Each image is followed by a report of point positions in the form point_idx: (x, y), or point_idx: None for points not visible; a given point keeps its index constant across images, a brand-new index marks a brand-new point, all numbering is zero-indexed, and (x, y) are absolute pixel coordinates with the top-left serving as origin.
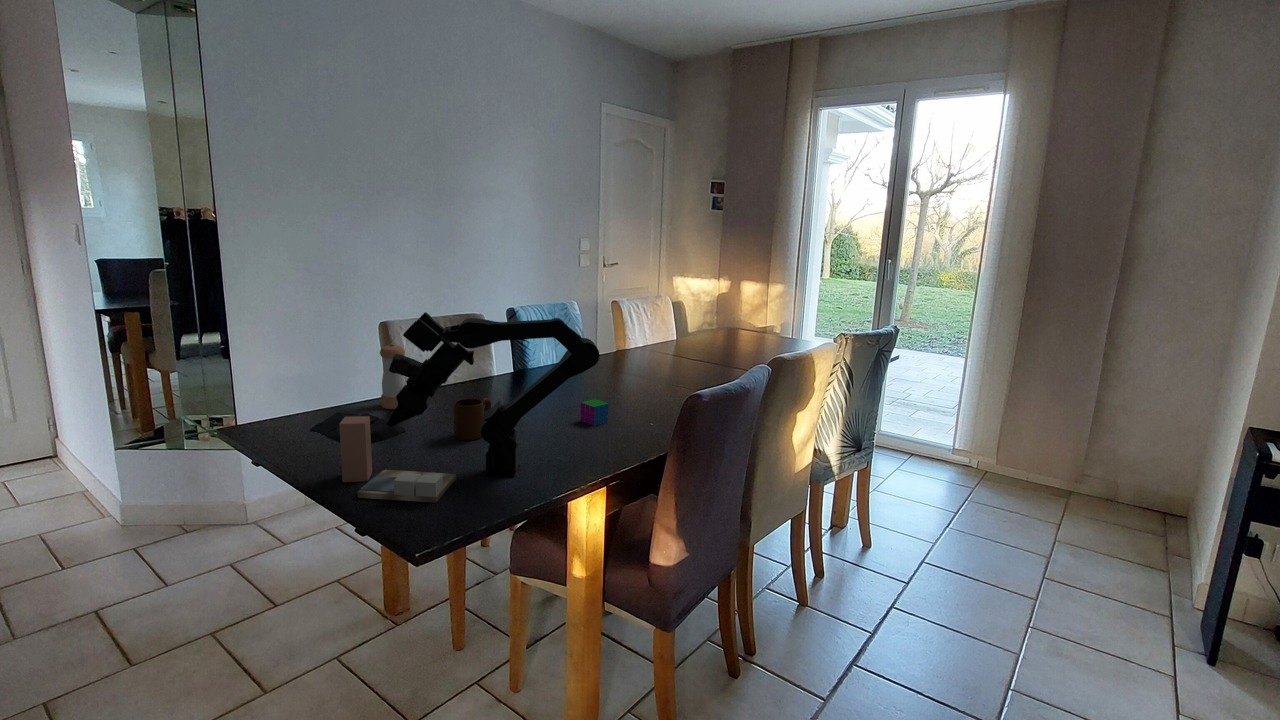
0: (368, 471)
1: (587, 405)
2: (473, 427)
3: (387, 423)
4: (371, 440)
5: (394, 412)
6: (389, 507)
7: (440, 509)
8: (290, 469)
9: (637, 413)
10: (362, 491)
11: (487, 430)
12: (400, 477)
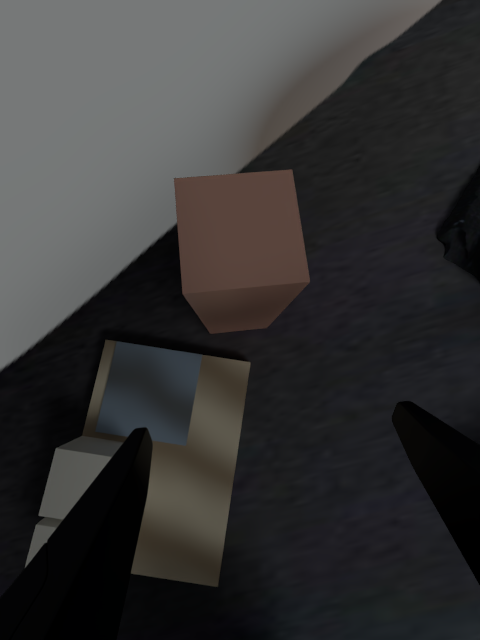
0: (224, 329)
1: None
2: None
3: (132, 434)
4: (475, 264)
5: (46, 548)
6: (49, 431)
7: (19, 572)
8: (278, 153)
9: None
10: (108, 350)
11: None
12: (78, 463)
